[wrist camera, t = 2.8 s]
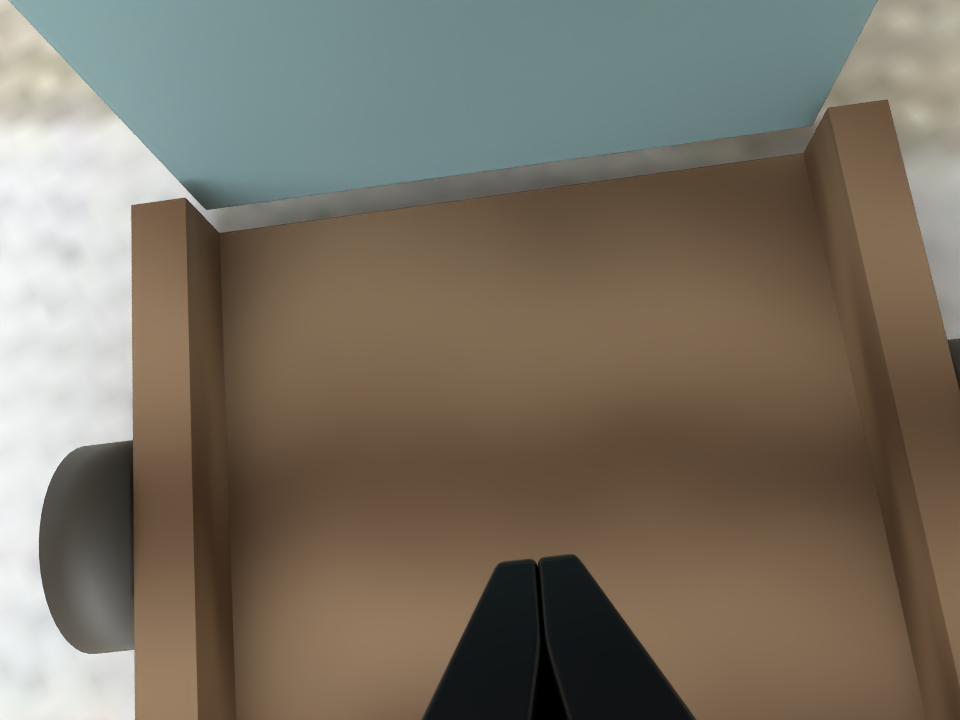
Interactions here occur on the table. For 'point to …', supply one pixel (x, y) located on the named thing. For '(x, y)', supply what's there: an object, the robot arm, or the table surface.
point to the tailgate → (438, 81)
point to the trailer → (535, 443)
